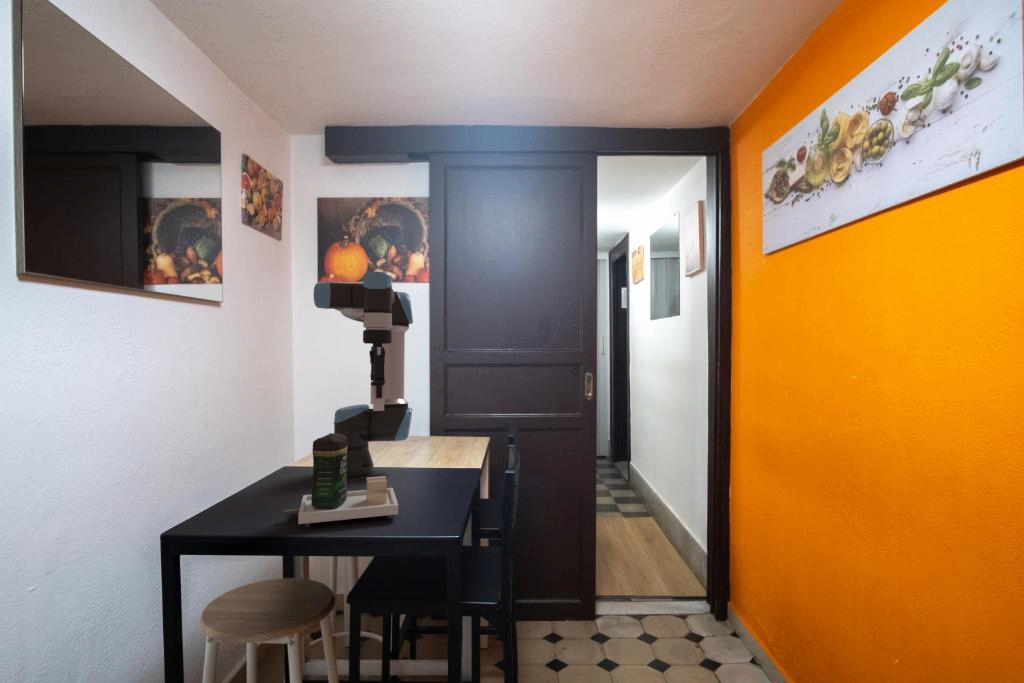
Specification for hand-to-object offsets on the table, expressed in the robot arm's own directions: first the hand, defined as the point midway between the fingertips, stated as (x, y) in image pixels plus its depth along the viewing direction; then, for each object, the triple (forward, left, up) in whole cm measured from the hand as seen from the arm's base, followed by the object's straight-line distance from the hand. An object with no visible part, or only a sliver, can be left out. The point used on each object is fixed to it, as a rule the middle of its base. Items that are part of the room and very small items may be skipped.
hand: (377, 407), depth 137 cm
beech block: (0, 0, -26) cm, 26 cm away
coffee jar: (-1, -12, -26) cm, 28 cm away
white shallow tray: (0, -9, -29) cm, 30 cm away
